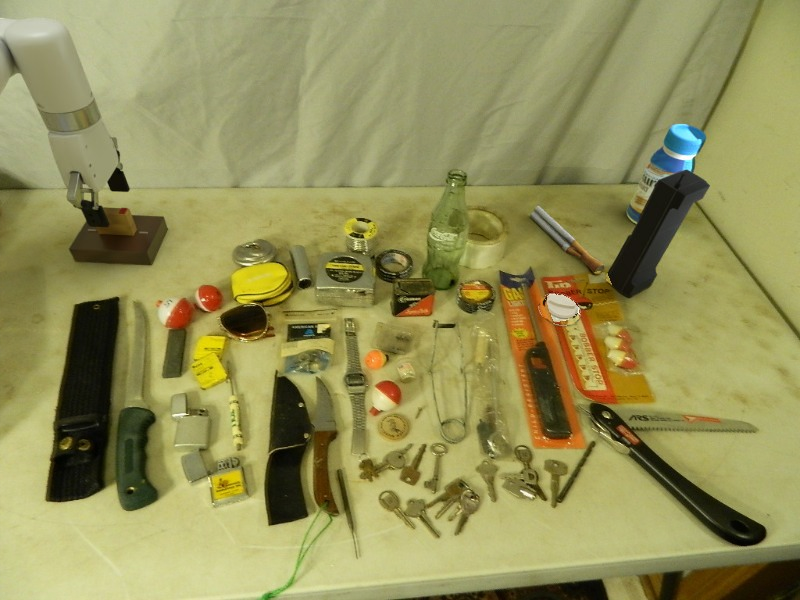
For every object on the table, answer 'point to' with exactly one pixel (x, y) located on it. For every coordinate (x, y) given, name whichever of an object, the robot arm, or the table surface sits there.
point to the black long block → (655, 231)
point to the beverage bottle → (667, 163)
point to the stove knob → (561, 308)
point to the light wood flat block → (118, 222)
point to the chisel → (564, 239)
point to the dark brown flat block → (121, 243)
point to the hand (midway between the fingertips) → (110, 207)
